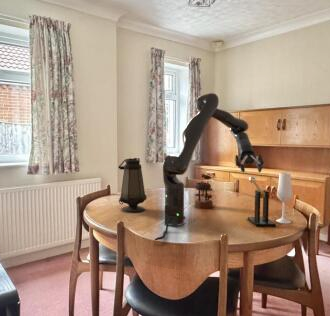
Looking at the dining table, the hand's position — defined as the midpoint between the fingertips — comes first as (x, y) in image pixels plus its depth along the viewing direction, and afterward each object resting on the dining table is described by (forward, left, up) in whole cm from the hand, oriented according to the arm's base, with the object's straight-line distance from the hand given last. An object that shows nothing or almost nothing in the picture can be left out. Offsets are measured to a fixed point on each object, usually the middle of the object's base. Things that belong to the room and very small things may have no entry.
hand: (252, 171), depth 156 cm
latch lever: (-6, -3, -8) cm, 11 cm away
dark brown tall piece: (+5, +29, -24) cm, 38 cm away
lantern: (-22, +61, -24) cm, 69 cm away
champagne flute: (-4, -16, -24) cm, 29 cm away
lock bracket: (-12, -7, -24) cm, 27 cm away
